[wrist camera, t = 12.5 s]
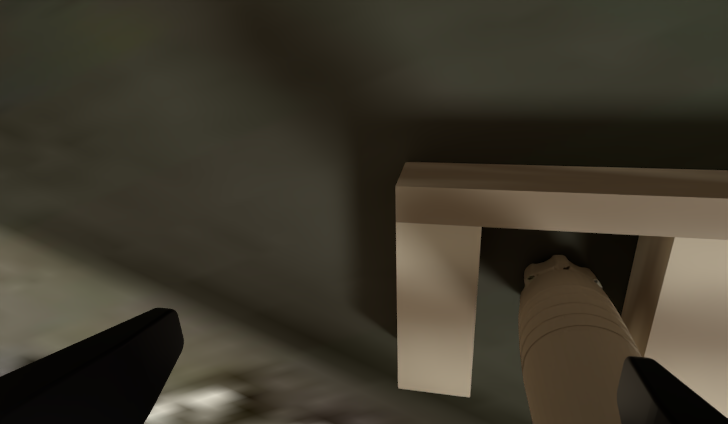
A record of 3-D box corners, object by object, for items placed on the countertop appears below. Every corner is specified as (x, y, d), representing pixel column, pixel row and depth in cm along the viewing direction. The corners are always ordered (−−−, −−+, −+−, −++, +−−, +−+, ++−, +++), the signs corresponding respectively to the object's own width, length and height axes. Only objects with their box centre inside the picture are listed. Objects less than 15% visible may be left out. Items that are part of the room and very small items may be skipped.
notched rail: (982, 407, 19) (1065, 473, 17) (406, 345, 24) (398, 388, 22) (1134, 180, 15) (1276, 219, 13) (405, 161, 20) (395, 185, 18)
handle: (580, 202, 19) (821, 650, 6) (638, 319, 21) (931, 881, 8) (473, 246, 21) (475, 667, 8) (534, 351, 23) (621, 850, 9)
